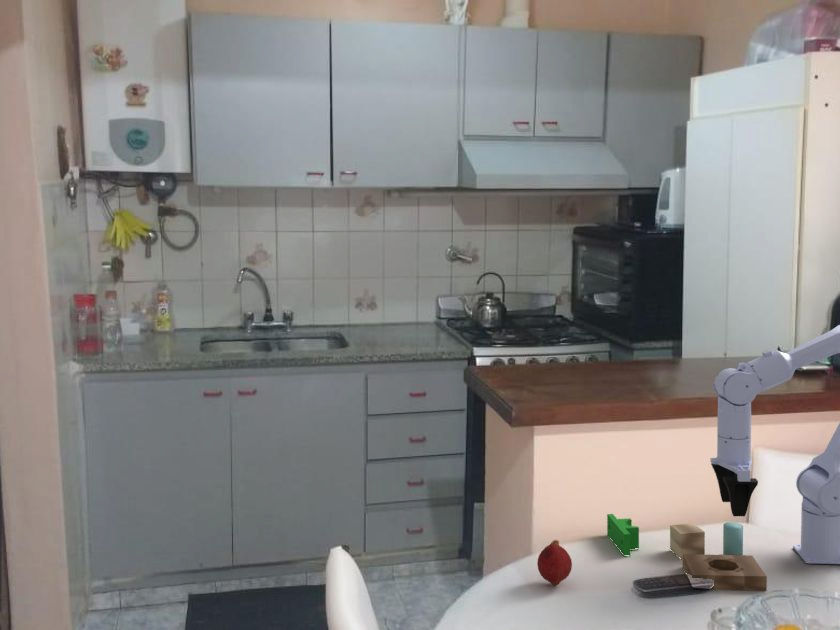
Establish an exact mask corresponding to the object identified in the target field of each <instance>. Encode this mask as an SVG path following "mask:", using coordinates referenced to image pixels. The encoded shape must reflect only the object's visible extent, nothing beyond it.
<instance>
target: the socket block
mask: <svg viewBox="0 0 840 630" xmlns="http://www.w3.org/2000/svg"><path fill="white" fill-rule="evenodd" d="M682 569H684V570H683V572H684V571H685V572H684V573H687V574H690V575H692V578H703V579H708V578H709V579H712V580H713V581H714V586H713V587H712V588H711V589H710V590H716V591H717V590H718V591H720V590H722V591H757V592H758V591H759V592H760V591H761V592H766V591H768V590H767V588H768V587H767V583H768V582H767V581H768V580H767V579H768V576H767V574H766V573H765V571H764V570H763V569H762V567H761V565H760V564H759V563H758V561H757V560H756V558H755V557H754V556H753V555H751V554H750V555H746V554H745V555H723V554H705V555H698V554H683V560H682Z"/></svg>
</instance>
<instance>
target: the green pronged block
mask: <svg viewBox="0 0 840 630" xmlns="http://www.w3.org/2000/svg"><path fill="white" fill-rule="evenodd" d="M606 517H607V518H606V520H607V521H606V523H607V525H606V528H607V529H606V531H607V537H608V538H609V539H610V538H611V539H612V540H613V542H614V543H615V544H616V545H617V547H618V548H619V549H620V550H621V552H622V553H623V554H624V555H630V556H631V550H630V549H635V548H639V549H640V527H639V526H638V525H637V526H635V525H633V524H632V523H633V522H632V519H631V518H617V517H616V516H615V515H614V513H607V515H606ZM611 539H610V540H611ZM613 542H612V543H613ZM614 543H613V544H614ZM615 544H614V545H615ZM617 547H616V548H617ZM618 548H617V549H618ZM619 549H618V550H619ZM621 552H620V553H621ZM622 553H621V554H622Z"/></svg>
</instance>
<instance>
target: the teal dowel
mask: <svg viewBox="0 0 840 630" xmlns="http://www.w3.org/2000/svg"><path fill="white" fill-rule="evenodd" d="M722 529H723V531H722V533H723V536H722V537H723V538H722V540H723V541H722V545H723V546H722V555H743V554H744V525H743V524H741V523H738V522H733V521H732V522H731V521H730V522H729V521H728V522H724V523H723V528H722Z"/></svg>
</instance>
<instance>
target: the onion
mask: <svg viewBox="0 0 840 630" xmlns="http://www.w3.org/2000/svg"><path fill="white" fill-rule="evenodd" d="M559 544H560V541H559V540H558V539H553V540H552V541H551V542H550V543H549V545H546V546H545V547H544V548H543V550H541V552H540V553H539V554H538V558H537V563H536V564H537V565H536V566H537V569H538V572H539V574H540V576H541V577H542V578H543V579H544V580H545V581H547V582H548V583H549V584H552V585H554V586H558V585H559V584H560V583H562V581H564V580H566V579H567V578H568V577H569V576H570V573H572V572H571V571H572V568H573V562H572V559H571V556H570V554H569V553H568V551H567V550H566V549H565V548H564V547H562V546H561V545H559Z"/></svg>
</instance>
